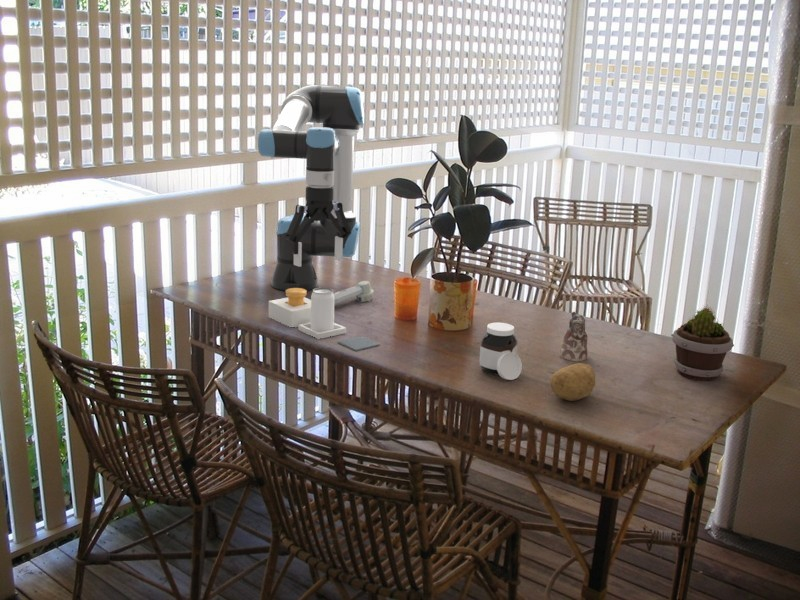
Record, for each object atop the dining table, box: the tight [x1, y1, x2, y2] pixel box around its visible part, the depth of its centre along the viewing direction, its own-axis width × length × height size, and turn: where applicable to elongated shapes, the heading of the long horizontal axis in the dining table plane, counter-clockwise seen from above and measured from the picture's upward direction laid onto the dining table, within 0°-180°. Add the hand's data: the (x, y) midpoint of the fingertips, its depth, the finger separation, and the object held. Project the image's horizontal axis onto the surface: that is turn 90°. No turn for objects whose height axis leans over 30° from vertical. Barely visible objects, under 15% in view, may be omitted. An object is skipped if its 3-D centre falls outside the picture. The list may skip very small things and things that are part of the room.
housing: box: [268, 296, 347, 340], centre depth 252 cm, size 11×24×5 cm, turn 41°
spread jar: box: [479, 322, 523, 381], centre depth 221 cm, size 12×11×12 cm
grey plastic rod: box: [333, 280, 375, 307], centre depth 271 cm, size 5×7×25 cm
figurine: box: [559, 311, 588, 362], centre depth 235 cm, size 7×7×12 cm
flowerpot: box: [670, 304, 735, 381], centre depth 225 cm, size 14×15×20 cm
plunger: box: [285, 288, 308, 306], centre depth 255 cm, size 6×6×8 cm
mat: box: [337, 335, 380, 352], centre depth 239 cm, size 8×8×1 cm
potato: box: [550, 362, 596, 402], centre depth 208 cm, size 10×14×8 cm
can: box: [310, 287, 335, 333], centre depth 246 cm, size 6×6×12 cm
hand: (318, 262), depth 242 cm, fingers open, 13 cm apart
